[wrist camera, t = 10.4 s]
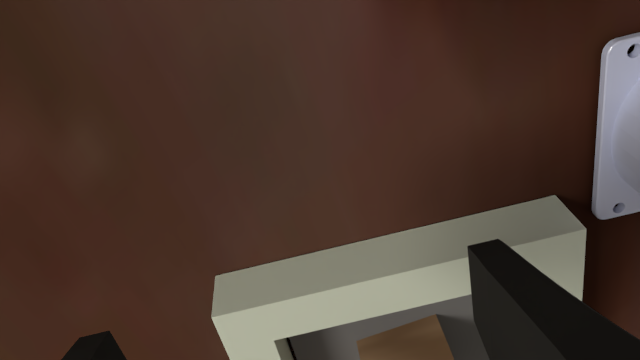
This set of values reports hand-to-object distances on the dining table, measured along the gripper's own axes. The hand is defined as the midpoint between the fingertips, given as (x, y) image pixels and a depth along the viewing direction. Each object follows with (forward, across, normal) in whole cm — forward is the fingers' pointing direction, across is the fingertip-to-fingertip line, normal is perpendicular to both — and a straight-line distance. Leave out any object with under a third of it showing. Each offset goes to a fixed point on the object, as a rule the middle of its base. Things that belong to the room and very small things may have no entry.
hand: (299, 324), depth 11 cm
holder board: (+10, -3, +14) cm, 18 cm away
